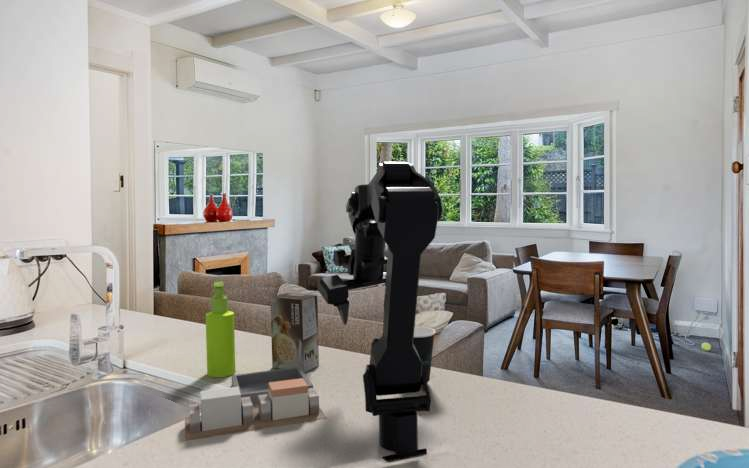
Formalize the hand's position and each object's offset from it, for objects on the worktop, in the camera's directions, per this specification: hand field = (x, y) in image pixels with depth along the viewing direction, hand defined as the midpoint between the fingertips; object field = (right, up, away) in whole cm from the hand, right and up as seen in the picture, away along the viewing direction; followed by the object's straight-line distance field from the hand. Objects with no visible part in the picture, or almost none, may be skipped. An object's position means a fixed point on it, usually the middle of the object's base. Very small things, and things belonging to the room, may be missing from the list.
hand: (365, 318), depth 104 cm
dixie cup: (+10, -14, 0) cm, 17 cm away
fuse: (-23, -14, -20) cm, 33 cm away
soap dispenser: (-31, -14, +8) cm, 35 cm away
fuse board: (-18, -15, -18) cm, 29 cm away
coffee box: (-16, -13, +13) cm, 24 cm away
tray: (-18, -14, -5) cm, 23 cm away
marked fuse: (-13, -14, -16) cm, 24 cm away
